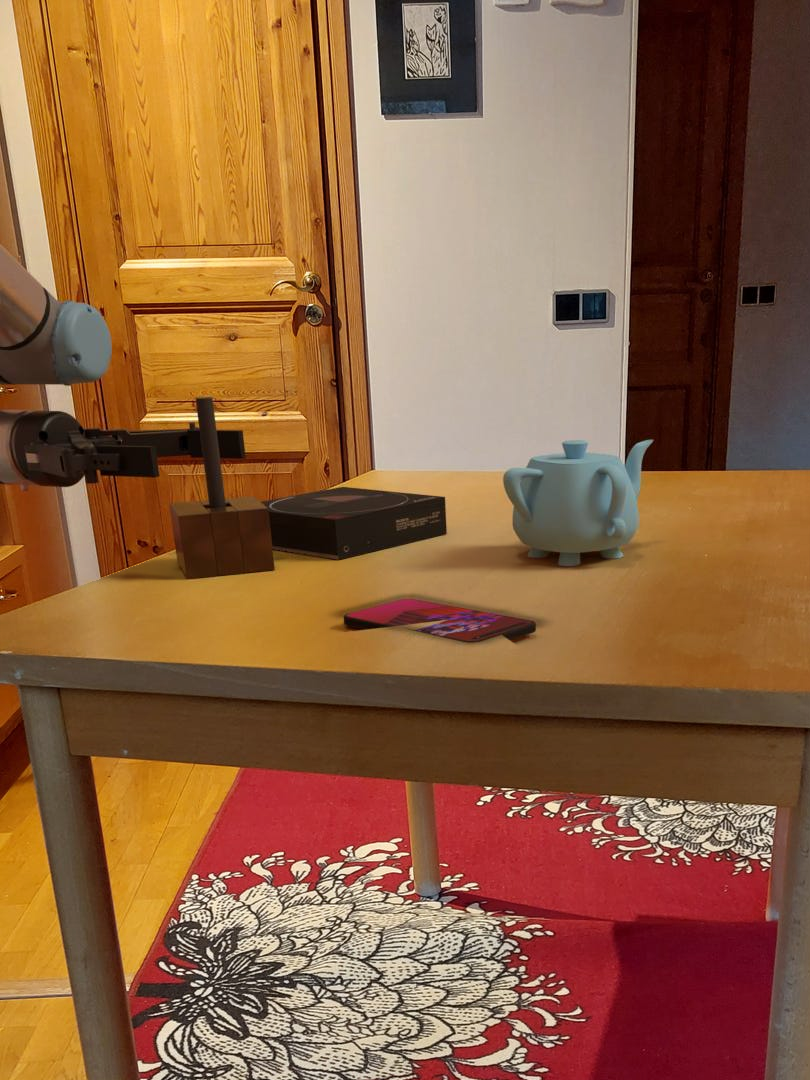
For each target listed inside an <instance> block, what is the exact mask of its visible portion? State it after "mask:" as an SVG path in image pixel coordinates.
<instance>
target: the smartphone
mask: <svg viewBox="0 0 810 1080" xmlns="http://www.w3.org/2000/svg"><path fill="white" fill-rule="evenodd" d="M434 622H437V623H434ZM343 623H344V625H345V626H348V627H353V628H356V629H361V630H366V631H367V630H376V629H383V628H385V629H386V628H392V627H401V626H409V625H418V624H426V623H434V624H430V625H427V626H425V627H421V628H416V629H411V628H405V629H406V630H409V631H414V632H417V633H418V632H419V633H422V634H427V635H430V636H435V637H440V638H444V639H449V640H453V641H458V642H462V643H466V644H467V643H469V644H473V643H480V642H484V641H488V640H490V639H493V638H497V637H500V636H502V637H504V638H505V639H507V640H508V641H513V640H515V639H519V638H522V637H525V636H528V635H531V634H534V633H535V632H536V631H537V623H536V621H534V620H531V619H525V618H519V617H515V616H510V615H503V614H497V613H491V612H487V611H481V610H475V609H470V608H464V607H459V606H454V605H448V604H442V603H437V602H431V601H427V600H421V599H420V600H419V599H415V598H401V599H398V600H394V601H390V602H386V603H383V604H379V605H375V606H371V607H368V608H364V609H359V610H356V611H351V612H348V613H345V614H344V615H343Z"/></svg>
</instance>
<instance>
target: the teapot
mask: <svg viewBox="0 0 810 1080" xmlns="http://www.w3.org/2000/svg"><path fill="white" fill-rule="evenodd" d="M653 442H654V439H646V440H642V441H640V442H637V443H635V444H634V445H633V447H632V448H631V449H630V451H629V452H628V456H627V458H626V461H625V464H624V463H623V461H622V459H621V458H620V457H618V456H617V455H611V454H607V453H597V452H587V448H588V445H589V442H588V441H587V440H583V439H582V440H581V439H572V440H571V439H570V440H565V441H562V442H561V444H562V445H561V446H562V449H563V452H562V453H552V454H544V455H538V456H533V457H532V458H530V459H529V461H528V463H527V465H526V467H513V468H509V469H508V470H506V471H505V472H504V474H503V478H502V484H503V487H504V491H505V493H506V495H507V497H508V499H509V501H510V503H511V504H512V506H513V509H512V528H513V532H514V533H515V535H516V536H517V538H518V540H519V541H520V542H521V543H522V544H523V545H525V546H527V547H529V548H530V550H529V551H528V553H527V555H526V556H527V557H528V558H546V557H549V555H550V552H554V553H559V556H558V561H557V565H558V566H563V567H574V566H580V565H581V553H590V552H597V551H599V554H600V556H601V558H602V559H603V558H604V559H620V558H624V554H623V553H622V551H621V549H620V547H624V546H628V545H629V544H630V543H631V541H632V539H634V537H635V535H636V533H637V532H638V530H639V526H640V515H639V507H638V506H639V505H638V499H639V496H640V492H641V486H642V484H641V483H642V464H643V458H644V456H645V453H646V451H647V449H648V448H649V447H650V446H651V444H652V443H653Z"/></svg>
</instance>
